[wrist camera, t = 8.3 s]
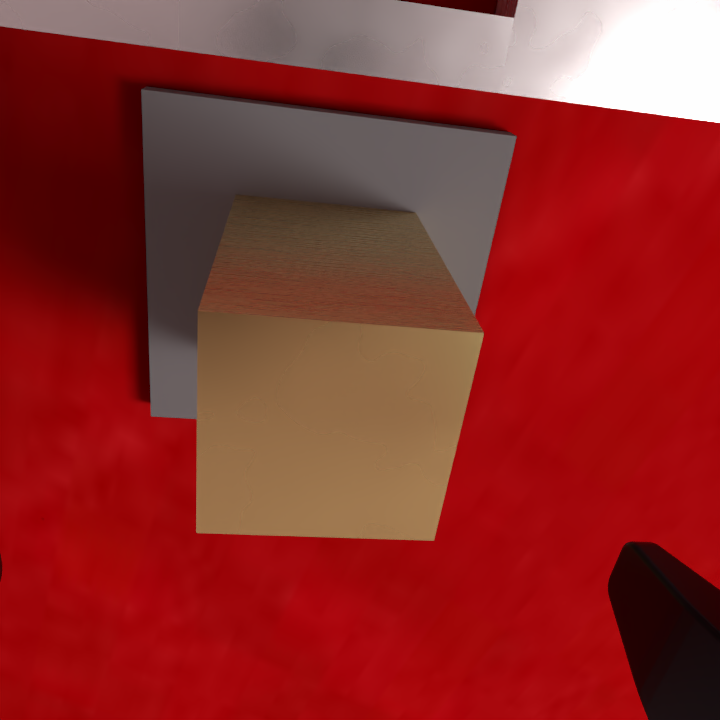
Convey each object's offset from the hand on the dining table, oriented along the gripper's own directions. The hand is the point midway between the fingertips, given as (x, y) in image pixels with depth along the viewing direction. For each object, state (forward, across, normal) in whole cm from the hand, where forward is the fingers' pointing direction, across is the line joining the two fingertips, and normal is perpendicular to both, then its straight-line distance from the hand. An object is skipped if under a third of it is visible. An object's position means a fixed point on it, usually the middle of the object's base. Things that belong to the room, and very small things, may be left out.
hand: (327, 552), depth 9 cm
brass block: (+10, 0, 0) cm, 10 cm away
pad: (+10, 0, 0) cm, 10 cm away
